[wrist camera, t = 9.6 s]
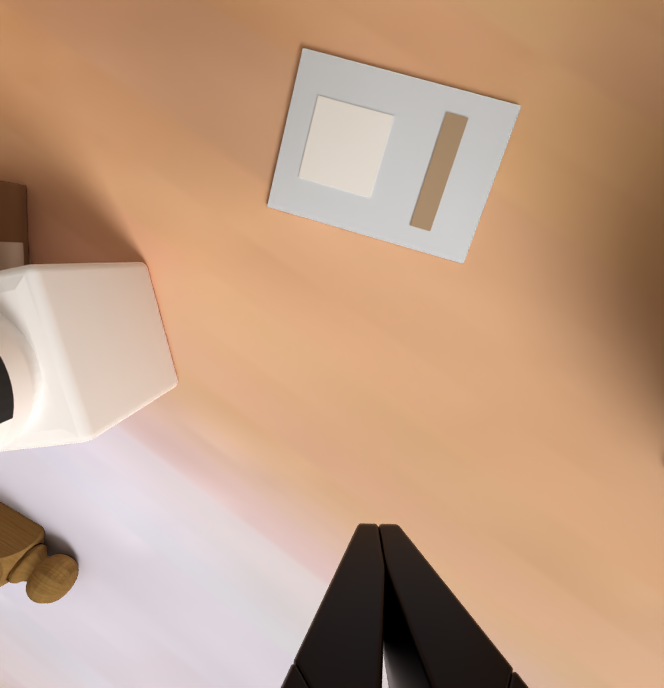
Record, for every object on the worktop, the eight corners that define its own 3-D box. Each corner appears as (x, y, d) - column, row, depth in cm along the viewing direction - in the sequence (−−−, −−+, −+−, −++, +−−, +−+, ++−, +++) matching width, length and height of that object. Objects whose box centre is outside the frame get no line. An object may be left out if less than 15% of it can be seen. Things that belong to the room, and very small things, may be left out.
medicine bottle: (36, 282, 22) (-365, 312, 10) (148, 260, 20) (-157, 266, 9) (74, 399, 23) (-237, 544, 11) (181, 385, 22) (-44, 530, 10)
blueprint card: (519, 107, 17) (522, 105, 16) (462, 264, 18) (463, 264, 18) (304, 50, 17) (302, 46, 17) (268, 207, 19) (266, 206, 19)
